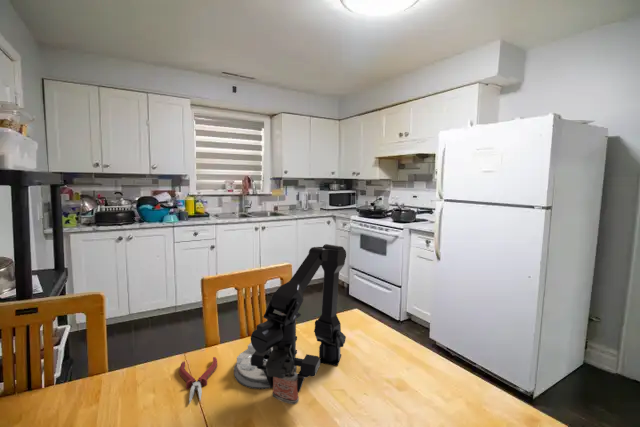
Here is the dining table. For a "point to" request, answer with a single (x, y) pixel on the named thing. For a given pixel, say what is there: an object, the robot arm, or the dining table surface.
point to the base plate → (250, 383)
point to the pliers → (201, 381)
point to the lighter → (286, 388)
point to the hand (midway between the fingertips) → (285, 389)
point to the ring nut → (249, 366)
